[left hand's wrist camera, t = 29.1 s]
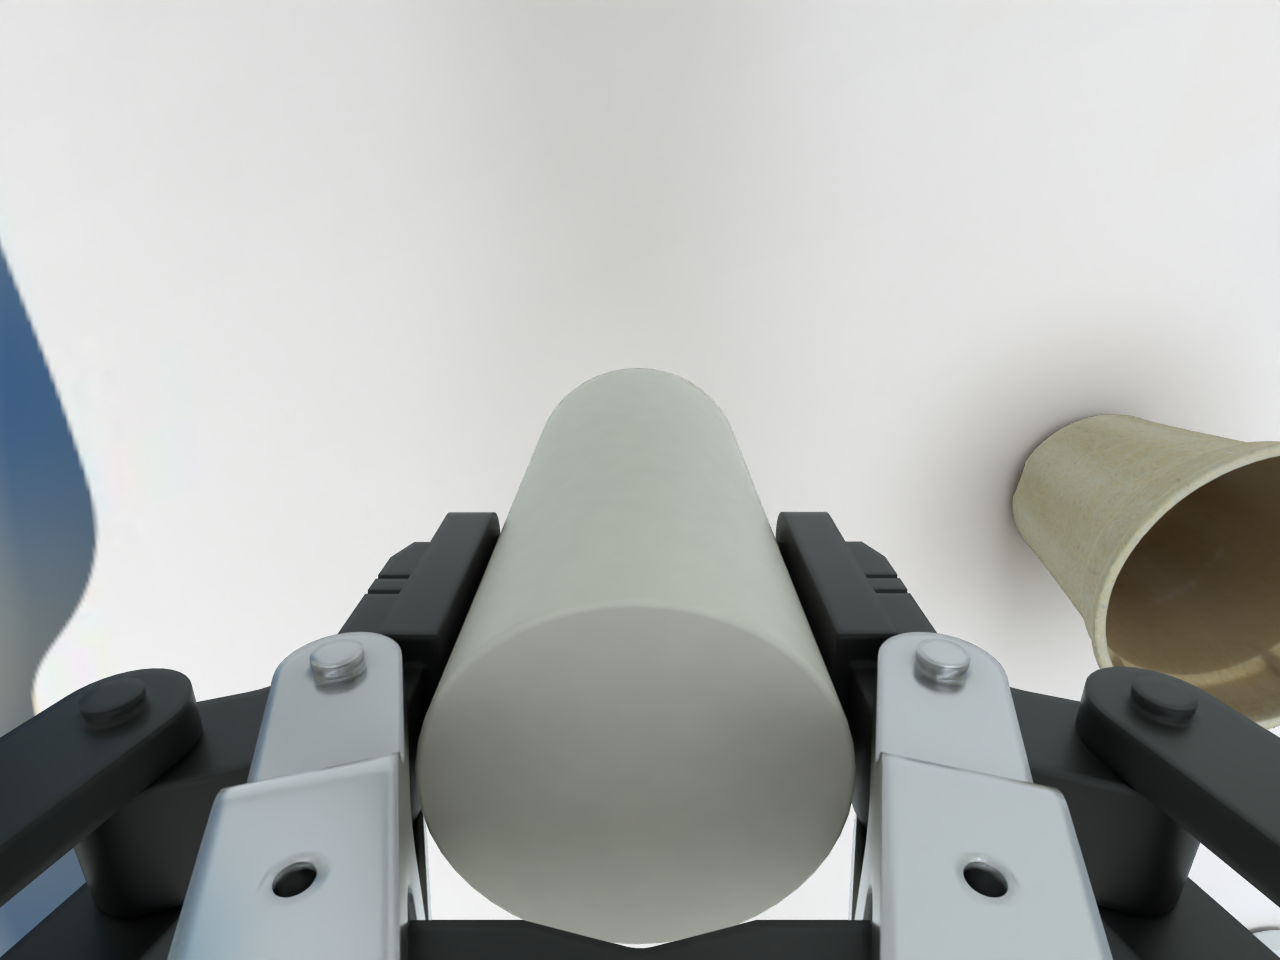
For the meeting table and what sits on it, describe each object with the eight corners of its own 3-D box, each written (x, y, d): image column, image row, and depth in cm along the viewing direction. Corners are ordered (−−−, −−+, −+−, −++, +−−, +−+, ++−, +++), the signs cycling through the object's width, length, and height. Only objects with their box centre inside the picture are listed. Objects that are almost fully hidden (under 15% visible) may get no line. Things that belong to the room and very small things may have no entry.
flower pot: (1269, 448, 28) (1523, 547, 20) (1098, 631, 31) (1260, 782, 23) (1083, 324, 26) (1276, 376, 18) (921, 528, 29) (1026, 651, 21)
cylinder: (495, 465, 16) (322, 791, 7) (638, 323, 15) (637, 505, 6) (637, 590, 17) (634, 1002, 9) (779, 467, 16) (947, 794, 7)
